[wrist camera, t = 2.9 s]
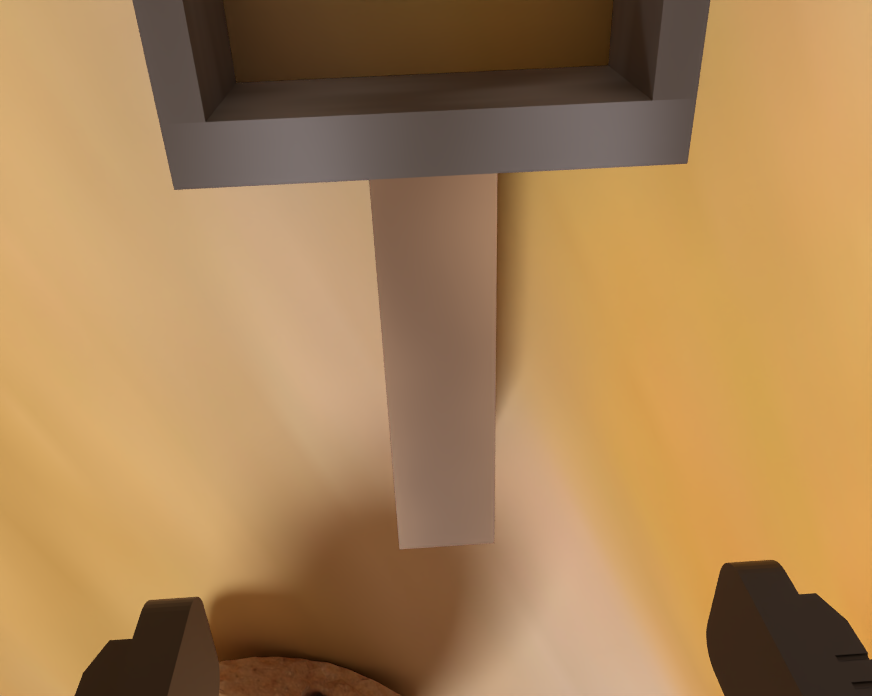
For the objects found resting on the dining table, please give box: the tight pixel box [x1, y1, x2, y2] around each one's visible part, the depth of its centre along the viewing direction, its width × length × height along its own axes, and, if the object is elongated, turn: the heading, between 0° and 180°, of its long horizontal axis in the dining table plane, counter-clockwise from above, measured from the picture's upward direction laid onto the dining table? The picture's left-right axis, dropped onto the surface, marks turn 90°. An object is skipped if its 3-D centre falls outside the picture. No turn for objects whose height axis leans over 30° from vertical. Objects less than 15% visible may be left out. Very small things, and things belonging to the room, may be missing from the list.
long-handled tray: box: [133, 0, 710, 549], centre depth 21 cm, size 12×16×4 cm
